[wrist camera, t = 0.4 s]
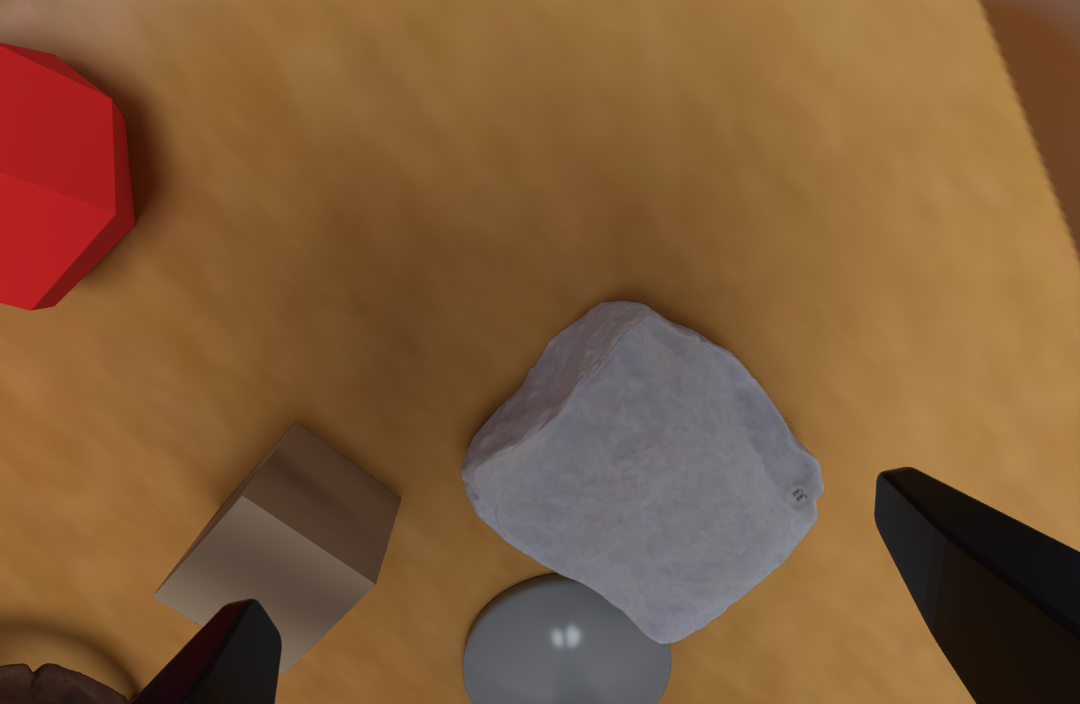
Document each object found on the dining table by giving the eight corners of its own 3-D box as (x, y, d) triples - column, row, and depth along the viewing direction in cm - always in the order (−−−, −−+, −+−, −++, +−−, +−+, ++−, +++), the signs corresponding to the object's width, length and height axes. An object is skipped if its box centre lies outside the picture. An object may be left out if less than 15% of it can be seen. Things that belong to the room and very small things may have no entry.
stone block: (600, 259, 24) (438, 463, 24) (647, 270, 19) (445, 521, 20) (799, 432, 27) (654, 608, 28) (879, 476, 23) (703, 686, 23)
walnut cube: (325, 574, 26) (283, 674, 21) (220, 506, 25) (152, 596, 20) (401, 496, 25) (375, 584, 20) (296, 421, 23) (242, 495, 19)
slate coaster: (568, 758, 30) (570, 774, 29) (422, 664, 28) (419, 679, 27) (708, 647, 28) (713, 661, 27) (563, 535, 26) (564, 547, 25)
